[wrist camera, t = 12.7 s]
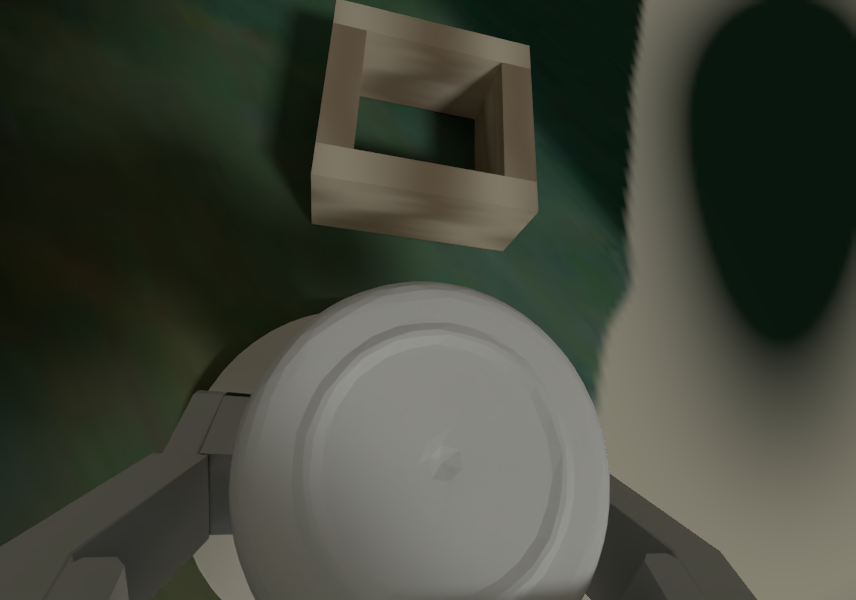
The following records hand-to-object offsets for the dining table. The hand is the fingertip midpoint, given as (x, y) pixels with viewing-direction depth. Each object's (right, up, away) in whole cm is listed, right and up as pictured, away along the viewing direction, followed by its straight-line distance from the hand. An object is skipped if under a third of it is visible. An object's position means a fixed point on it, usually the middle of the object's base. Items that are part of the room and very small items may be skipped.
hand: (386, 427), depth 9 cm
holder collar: (0, +10, +14) cm, 18 cm away
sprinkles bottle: (-2, -4, +8) cm, 9 cm away
